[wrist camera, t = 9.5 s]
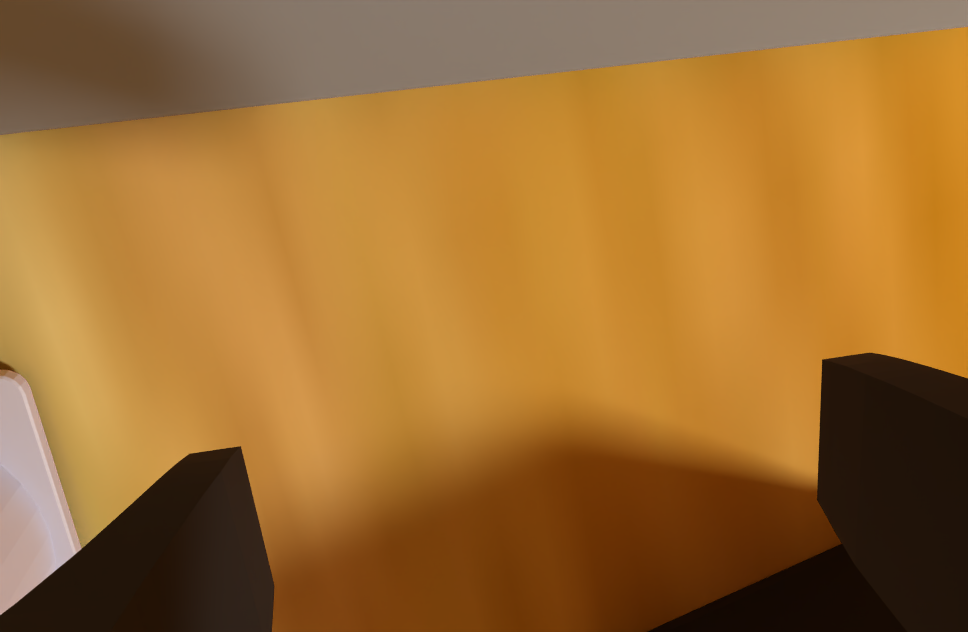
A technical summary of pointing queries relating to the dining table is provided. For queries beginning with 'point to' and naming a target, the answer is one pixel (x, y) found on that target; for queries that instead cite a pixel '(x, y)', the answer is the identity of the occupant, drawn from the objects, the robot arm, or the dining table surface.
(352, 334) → the dining table surface
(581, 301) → the dining table surface
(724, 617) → the electronic device
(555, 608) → the dining table surface
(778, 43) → the board
